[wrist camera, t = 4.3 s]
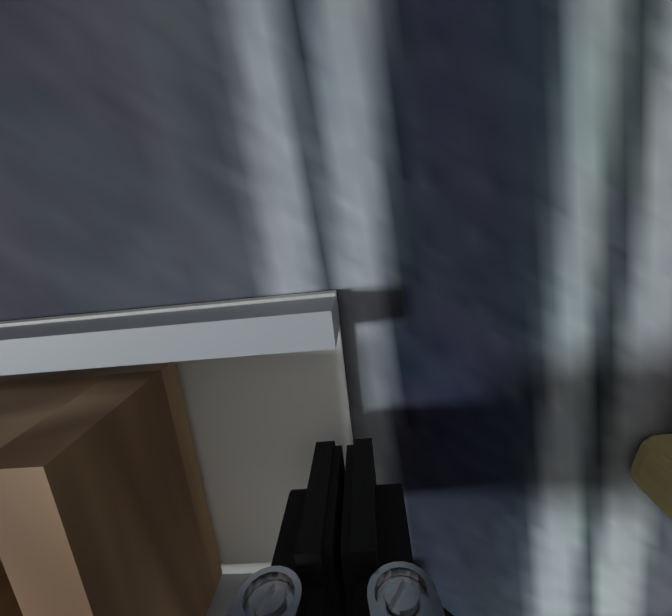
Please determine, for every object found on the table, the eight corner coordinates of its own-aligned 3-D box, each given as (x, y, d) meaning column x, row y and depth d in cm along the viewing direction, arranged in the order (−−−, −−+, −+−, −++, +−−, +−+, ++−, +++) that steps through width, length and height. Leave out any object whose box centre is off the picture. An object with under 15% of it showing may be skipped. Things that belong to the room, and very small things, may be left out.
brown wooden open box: (174, 359, 12) (43, 466, 7) (222, 572, 14) (146, 772, 9) (-94, 381, 13) (-378, 490, 8) (-13, 579, 15) (-200, 765, 10)
